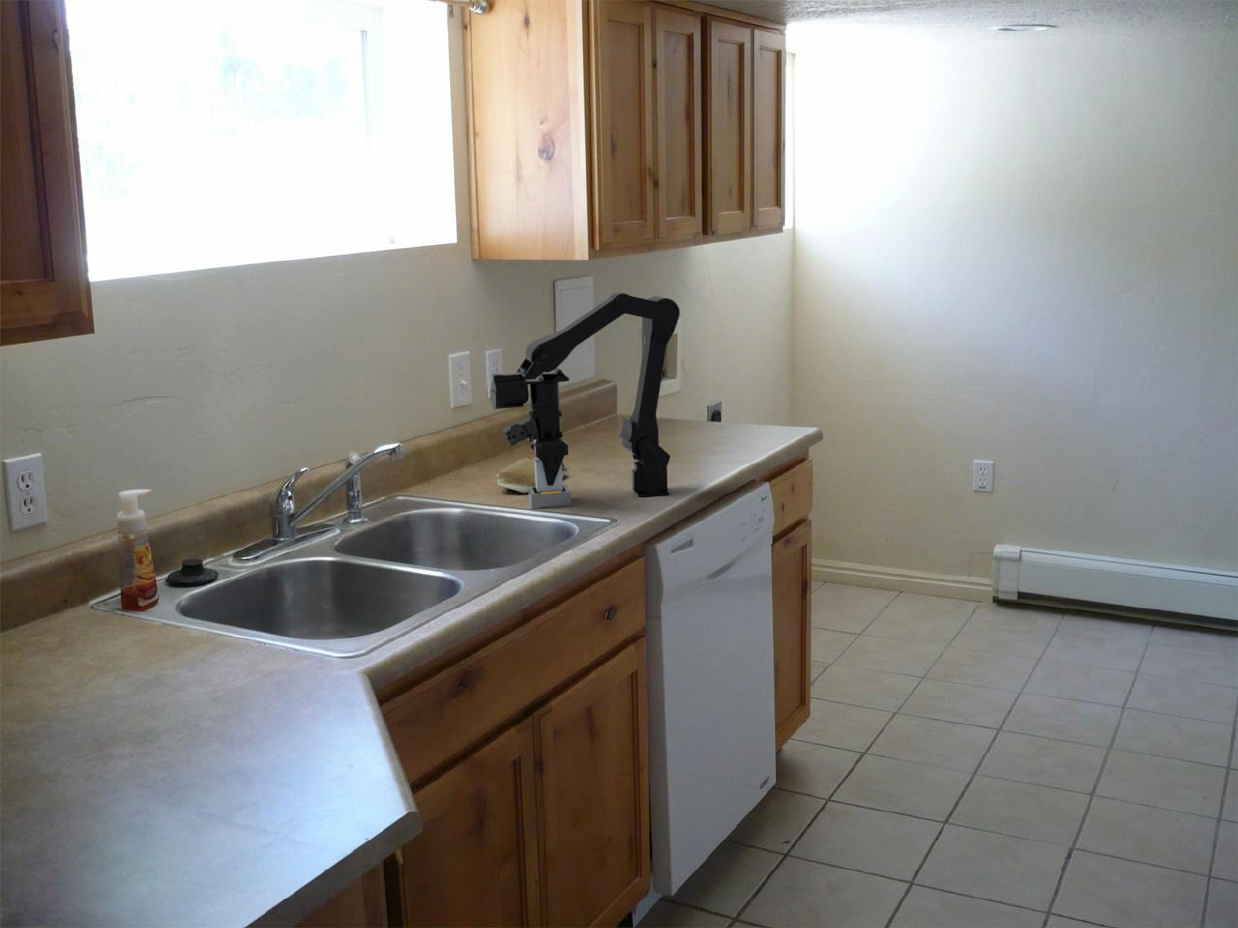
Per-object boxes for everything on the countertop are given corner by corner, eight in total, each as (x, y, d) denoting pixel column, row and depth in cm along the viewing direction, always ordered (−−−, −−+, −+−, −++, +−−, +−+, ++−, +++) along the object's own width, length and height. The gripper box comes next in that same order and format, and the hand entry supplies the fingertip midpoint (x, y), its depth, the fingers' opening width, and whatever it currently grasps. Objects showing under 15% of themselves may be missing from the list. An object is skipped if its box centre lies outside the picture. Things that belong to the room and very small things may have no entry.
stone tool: (527, 465, 274) (486, 493, 251) (529, 448, 273) (487, 474, 250) (576, 473, 272) (539, 502, 248) (578, 456, 271) (541, 483, 247)
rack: (567, 497, 246) (566, 482, 245) (571, 505, 239) (570, 490, 238) (528, 500, 245) (527, 485, 244) (531, 508, 238) (531, 493, 237)
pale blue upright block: (560, 485, 244) (559, 456, 242) (563, 490, 240) (561, 460, 238) (535, 487, 243) (534, 458, 241) (537, 492, 239) (536, 462, 238)
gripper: (500, 400, 245) (505, 475, 249) (507, 416, 227) (512, 497, 231) (555, 396, 247) (559, 471, 250) (566, 412, 229) (570, 492, 232)
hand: (549, 483), depth 241 cm, fingers closed on pale blue upright block, 4 cm apart
